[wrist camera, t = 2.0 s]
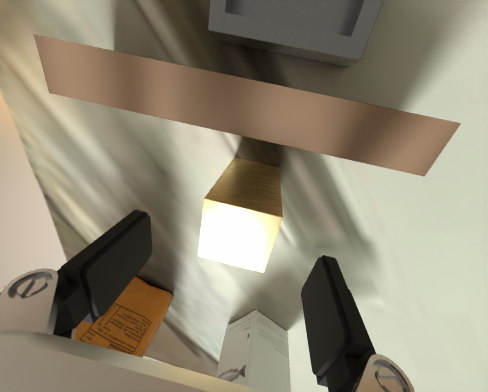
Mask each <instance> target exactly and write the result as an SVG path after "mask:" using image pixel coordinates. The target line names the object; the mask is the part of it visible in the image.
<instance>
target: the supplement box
mask: <svg viewBox="0 0 488 392" xmlns="http://www.w3.org/2000/svg"><path fill="white" fill-rule="evenodd" d="M216 378H219V379H222V380H226V381H229V382H233V383H237V384H240V385H244V386H247V387H251V388H254V389H258V390H262V391H265V392H291V387H290V368H289V349H288V332H287V331H285V330H284V329H283V328H281V327H280V326H278V325H277V324H276V323H274V322H273V321H271V320H270V319H269V318H267V317H266V316H264V315H263V314H261V313H260V312H259V311H257V310H254V311H252V312H251V313H249V314H248V315H246V316H244V317H242V318H241V319H239V320H237V321H235V322H233V323H231V324H229V325H227V328H226V333H225V337H224V342H223V346H222V351H221V355H220V360H219V365H218V369H217V374H216Z"/></svg>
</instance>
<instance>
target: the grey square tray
mask: <svg viewBox="0 0 488 392" xmlns="http://www.w3.org/2000/svg"><path fill="white" fill-rule="evenodd" d="M382 2H383V0H210V10H209V24H208V30H209V32H210V33H211V34H212V35H213V36H214V37H215V38H216V39H217V40H218V41H220V42H225V43H230V44H235V45H240V46H245V47H250V48H255V49H260V50H265V51H270V52H275V53H280V54H285V55H290V56H295V57H299V58H304V59H309V60H314V61H319V62H324V63H329V64H334V65H339V66H344V67H347V66H349V65H351V64H353V63H355V62H357V61H359V60H360V58H361V56H362V53H363V51H364V48H365V46H366V43H367V41H368V38H369V36H370V33H371V30H372V28H373V25H374V23H375V20H376V18H377V15H378V13H379V10H380V7H381V5H382Z"/></svg>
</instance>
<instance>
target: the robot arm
mask: <svg viewBox="0 0 488 392" xmlns="http://www.w3.org/2000/svg"><path fill="white" fill-rule="evenodd" d="M151 254H152V239H151V222H150V216H148V214H147V212H143V211H139V210H134V211H133V212H131V213H130V214H129V215H127V216H126V217H125V218H124V219H122V220H121V221H120V222H118V223H117V224H116V225H115V226H113V227H112V228H111V229H109V230H108V231H107V232H105V233H104V234H103V235H102V236H100V237H99V238H98V239H96V240H95V241H94V242H93V243H91V244H90V245H89V246H87V247H86V248H85V249H83V250H82V251H81V252H80V253H78V254H77V255H76V256H74V257H73V258H72V259H71V260H69V261H68V262H67V263H65V264H64V265H63V266H61V268H60V269H59V270H58V271H57V272H56V271H55V270H52V269H38V270H34V271H31V272H27V273H25V274H23V275H21V276H19V277H17V278H16V279H14V280H12V281H11V282H10V283H9V284H8V285H7V286H6V287H5V288H4V290H3V291H2V292H1V293H0V392H265V391H262V390H258V389H254V388H251V387H247V386H244V385H240V384H237V383H233V382H229V381H226V380H222V379H219V378H215V377H211V376H208V375H204V374H200V373H197V372H193V371H190V370H186V369H182V368H179V367H175V366H171V365H168V364H164V363H160V362H157V361H153V360H149V359H145V358H142V357H138V356H134V355H131V354H127V353H123V352H119V351H116V350H112V349H108V348H105V347H101V346H97V345H93V344H89V343H85V342H81V341H77V340H75V338H76V329H77V326H78V325H79V324H80V323H81V322H82V321H85V322H89V323H92V324H94V323H95V321H96V320H97V319H98V318H99V317H102V316H103V315H104V314H105V313H106V312H107V311H108V310H109V308H110V307H111V306H112V305H113V303H114V302H115V301H116V300H117V298H118V297H119V296H120V295H121V293H122V292H123V291H124V290H125V288H126V287H127V286H128V285H129V283H130V282H131V281H132V280H133V278H134V277H135V276H136V275H137V273H138V272H139V271H140V269H141V268H142V267H143V266H144V264H145V263H146V262H147V261H148V259H149V258H150V257H151ZM301 297H302V304H303V311H304V318H305V325H306V332H307V339H308V345H309V352H310V359H311V366H312V371H313V373H314V374H315V375H316V377H317V383H318V385H322V386H326V387H328V390H329V392H415V391H414V388H413V386H412V384H411V382H410V381H409V379H408V377H407V376H406V375H405V373H404V372H403V371H402V370H401V369H400V368H399V367H398V366H397V365H396V364H395V363H394V362H393V361H391V360H390V359H389V358H387V357H385V356H383V355H379V354H376V352H375V350H374V347H373V345H372V342H371V340H370V338H369V335H368V333H367V330H366V328H365V325H364V323H363V320H362V318H361V316H360V313H359V311H358V308H357V306H356V303H355V301H354V299H353V296H352V294H351V292H350V290H349V289H348V287H347V285H346V283H345V280H344V278H343V275H342V273H341V270H340V268H339V265H338V263H337V260H336V259H335V258H333V257H329V256H325V255H323V256H322V257H319V258H318V259H317V261H316V263H315V265H314V267H313V269H312V271H311V273H310V275H309V277H308V279H307V281H306V282H305V284H304V286H303V288H302V291H301Z"/></svg>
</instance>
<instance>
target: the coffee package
mask: <svg viewBox="0 0 488 392" xmlns="http://www.w3.org/2000/svg"><path fill="white" fill-rule="evenodd" d="M171 300H172V295H171V294H170V293H169V292H168V291H164V290H161V289H159V288H156V287H152V286H149V285H148V284H146V283H145V282H144V281H142V280H141V279H139V278H138V277H134V278H133V280H132V281H131V282H130V283H129V285H128V286H127V287H126V288H125V290H124V291H123V292H122V293H121V295H120V296H119V297H118V298H117V300H116V301H115V302H114V303H113V305H112V306H111V307H110V308H109V310H108V311H107V312H106V313H105V314H104V315H103V316H102V317H99V318H98V319H97V320H96V321H95V323H94V324H92V323H89V322H85V321H82V322H81V323H80V324H79V325H78V326H77V329H76V338H75V340H77V341H81V342H85V343H89V344H93V345H97V346H101V347H105V348H108V349H112V350H116V351H119V352H123V353H127V354H131V355H134V356H138V357H142V358H143V356H144V354H145V352H146V351H147V349H148V347H149V345H150V343H151V342H152V340H153V338H154V336H155V334H156V332H157V330H158V328H159V326H160V324H161V322H162V320H163V318H164V316H165V314H166V312H167V310H168V308H169V305H170V303H171Z"/></svg>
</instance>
